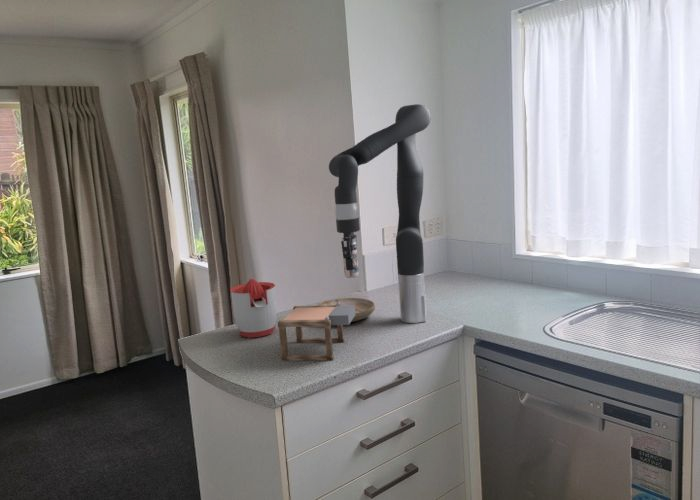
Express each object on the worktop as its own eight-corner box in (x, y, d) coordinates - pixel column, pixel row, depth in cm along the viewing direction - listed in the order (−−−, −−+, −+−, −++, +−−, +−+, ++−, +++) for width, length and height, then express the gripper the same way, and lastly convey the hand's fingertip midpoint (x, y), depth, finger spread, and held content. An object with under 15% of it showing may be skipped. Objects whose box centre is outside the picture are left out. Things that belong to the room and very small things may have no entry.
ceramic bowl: (302, 325, 203) (301, 312, 202) (333, 308, 224) (332, 296, 223) (358, 330, 192) (357, 316, 192) (385, 311, 213) (385, 299, 212)
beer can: (354, 278, 180) (351, 242, 178) (341, 278, 182) (338, 242, 180) (361, 275, 184) (358, 239, 182) (349, 274, 186) (346, 239, 184)
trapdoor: (356, 313, 177) (355, 304, 177) (347, 326, 164) (347, 316, 163) (296, 314, 181) (295, 305, 181) (283, 327, 168) (282, 317, 167)
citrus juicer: (241, 344, 185) (235, 286, 182) (231, 331, 201) (225, 278, 198) (286, 336, 191) (281, 279, 188) (272, 324, 207) (267, 271, 204)
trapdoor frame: (344, 340, 182) (341, 302, 180) (332, 360, 165) (329, 318, 162) (297, 340, 185) (294, 303, 183) (281, 360, 168) (277, 318, 166)
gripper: (354, 219, 172) (358, 272, 175) (362, 214, 186) (366, 263, 189) (331, 220, 174) (335, 273, 176) (340, 215, 187) (344, 264, 190)
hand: (351, 268), depth 182 cm, fingers closed on beer can, 4 cm apart
